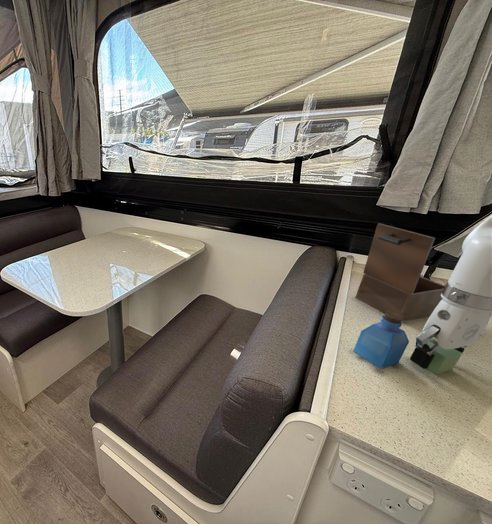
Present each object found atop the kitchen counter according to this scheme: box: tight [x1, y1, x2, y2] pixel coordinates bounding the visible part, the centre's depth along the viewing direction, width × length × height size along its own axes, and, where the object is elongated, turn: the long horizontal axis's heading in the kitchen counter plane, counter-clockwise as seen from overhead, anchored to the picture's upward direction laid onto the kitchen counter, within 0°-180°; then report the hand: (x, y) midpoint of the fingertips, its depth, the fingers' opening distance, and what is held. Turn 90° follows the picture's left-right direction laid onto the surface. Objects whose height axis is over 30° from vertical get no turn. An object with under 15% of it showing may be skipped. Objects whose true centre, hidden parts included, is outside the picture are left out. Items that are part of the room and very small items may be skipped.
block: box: [427, 338, 463, 375], centre depth 61 cm, size 5×5×5 cm
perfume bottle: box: [353, 311, 410, 370], centre depth 62 cm, size 6×6×12 cm
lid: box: [362, 222, 436, 294], centre depth 76 cm, size 16×14×5 cm
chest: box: [354, 273, 446, 322], centre depth 83 cm, size 16×14×9 cm
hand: (432, 360), depth 62 cm, fingers open, 8 cm apart
